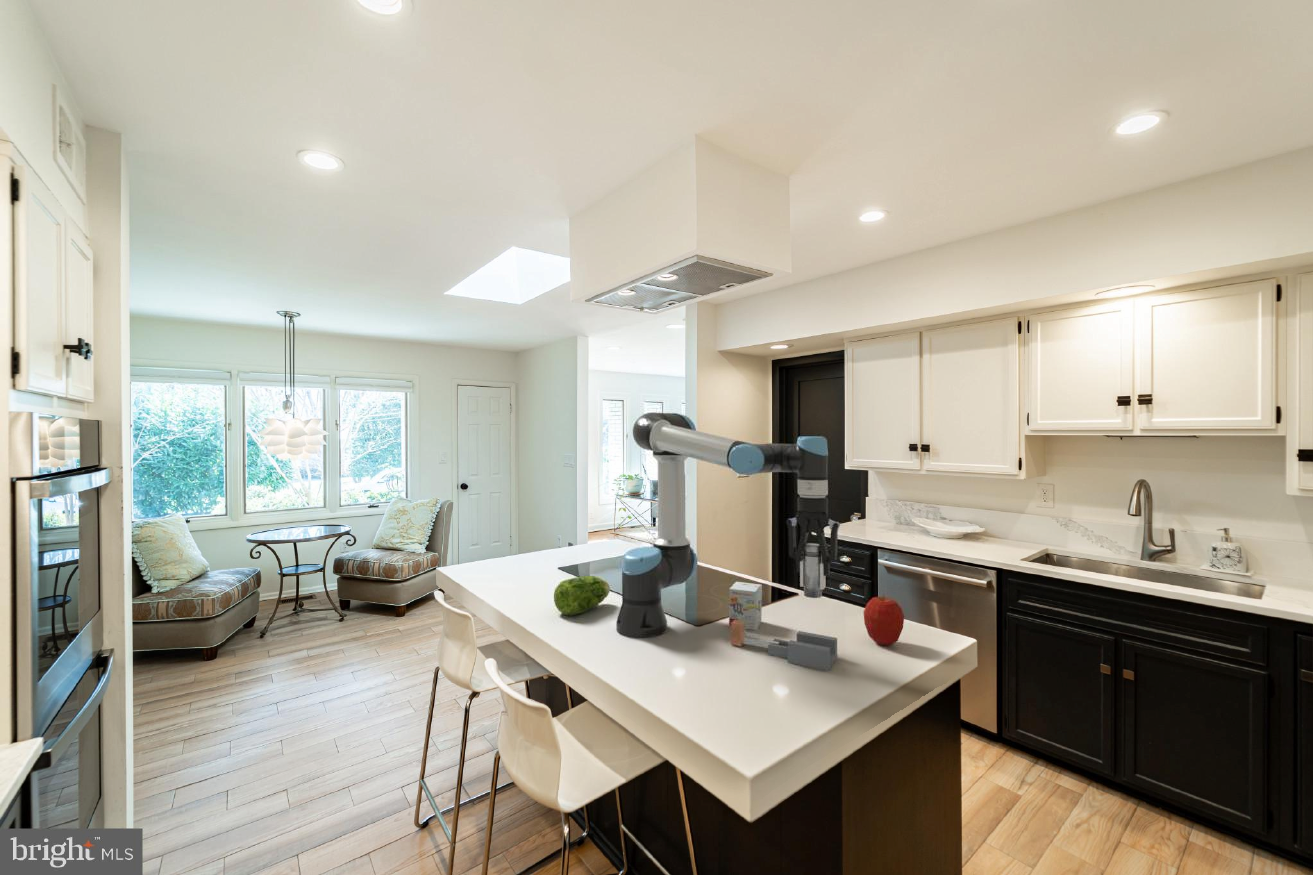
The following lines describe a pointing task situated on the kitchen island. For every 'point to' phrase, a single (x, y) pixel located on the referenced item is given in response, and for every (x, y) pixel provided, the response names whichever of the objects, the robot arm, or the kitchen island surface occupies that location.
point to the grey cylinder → (812, 570)
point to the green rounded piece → (580, 594)
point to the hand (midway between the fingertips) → (812, 586)
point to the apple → (883, 620)
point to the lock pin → (741, 639)
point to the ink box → (745, 604)
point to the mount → (807, 650)
